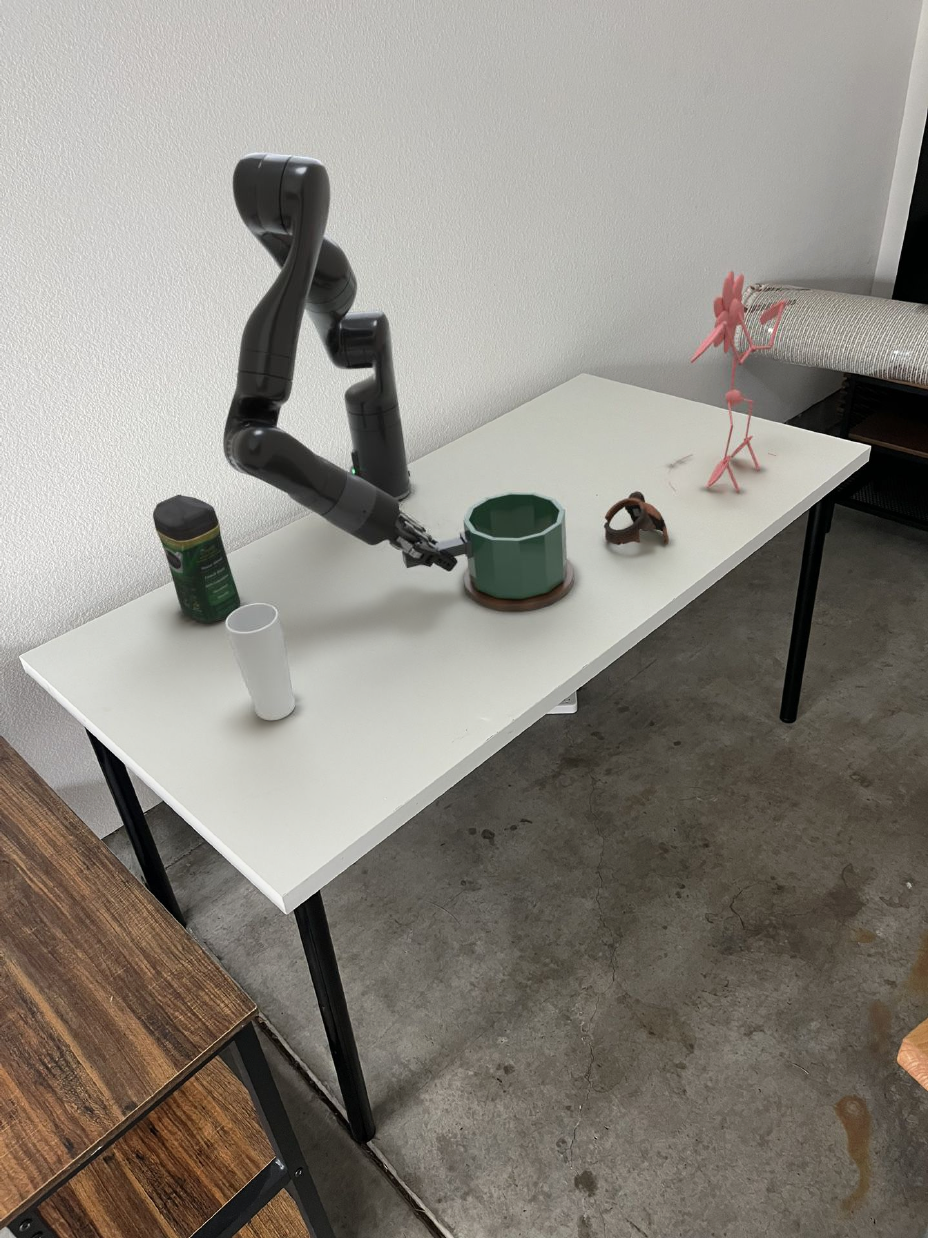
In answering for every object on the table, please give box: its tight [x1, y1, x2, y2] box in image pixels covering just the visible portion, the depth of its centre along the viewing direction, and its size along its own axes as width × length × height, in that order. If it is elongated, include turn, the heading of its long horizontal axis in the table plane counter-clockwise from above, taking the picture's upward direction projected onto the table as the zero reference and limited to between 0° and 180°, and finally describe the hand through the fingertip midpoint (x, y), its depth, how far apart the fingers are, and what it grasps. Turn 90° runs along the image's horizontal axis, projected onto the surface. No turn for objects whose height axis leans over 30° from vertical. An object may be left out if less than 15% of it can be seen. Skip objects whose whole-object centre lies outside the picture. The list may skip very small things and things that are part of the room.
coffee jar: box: [152, 494, 242, 624], centre depth 144 cm, size 10×8×19 cm
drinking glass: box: [224, 602, 296, 721], centre depth 123 cm, size 7×7×15 cm
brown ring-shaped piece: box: [603, 490, 669, 546], centre depth 154 cm, size 12×10×8 cm
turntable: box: [463, 558, 575, 613], centre depth 147 cm, size 17×17×1 cm
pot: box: [401, 491, 568, 599], centre depth 143 cm, size 25×15×10 cm, turn 107°
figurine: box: [665, 270, 787, 492], centre depth 161 cm, size 15×26×35 cm, turn 144°
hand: (450, 560), depth 142 cm, fingers closed on pot, 2 cm apart
